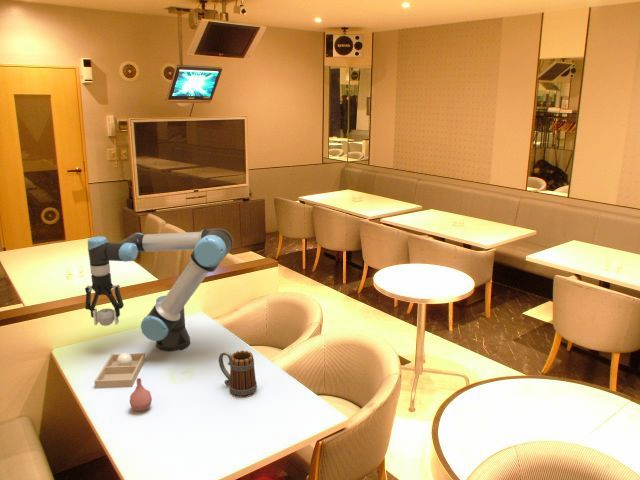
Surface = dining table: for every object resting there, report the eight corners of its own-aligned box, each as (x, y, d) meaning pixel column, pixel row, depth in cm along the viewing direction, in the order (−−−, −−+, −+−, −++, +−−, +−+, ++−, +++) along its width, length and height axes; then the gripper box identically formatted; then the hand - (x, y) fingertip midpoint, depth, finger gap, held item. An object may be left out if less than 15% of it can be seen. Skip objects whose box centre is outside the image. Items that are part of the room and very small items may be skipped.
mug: (262, 387, 214) (261, 352, 210) (247, 400, 204) (246, 364, 200) (228, 378, 220) (226, 344, 216) (213, 391, 211) (211, 355, 207)
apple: (119, 324, 235) (118, 309, 233) (101, 329, 230) (100, 315, 228) (111, 318, 240) (109, 305, 239) (93, 324, 235) (91, 310, 233)
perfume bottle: (129, 405, 201) (126, 376, 198) (151, 401, 204) (148, 372, 201) (131, 416, 194) (128, 386, 191) (153, 412, 197) (151, 382, 194)
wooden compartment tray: (145, 360, 234) (145, 353, 233) (132, 388, 213) (131, 379, 212) (112, 361, 233) (111, 354, 232) (95, 389, 212) (94, 381, 211)
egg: (134, 362, 231) (133, 350, 230) (130, 369, 226) (129, 356, 224) (119, 363, 231) (118, 350, 229) (115, 370, 225) (114, 357, 224)
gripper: (128, 270, 233) (133, 319, 239) (78, 271, 232) (85, 320, 238) (123, 275, 226) (128, 326, 232) (72, 276, 225) (78, 328, 231)
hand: (106, 323), depth 235 cm, fingers closed on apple, 8 cm apart
